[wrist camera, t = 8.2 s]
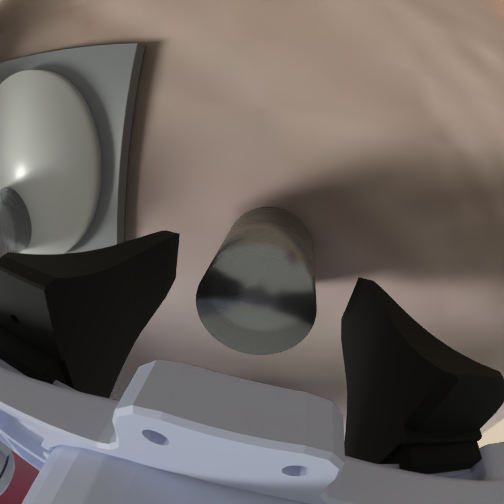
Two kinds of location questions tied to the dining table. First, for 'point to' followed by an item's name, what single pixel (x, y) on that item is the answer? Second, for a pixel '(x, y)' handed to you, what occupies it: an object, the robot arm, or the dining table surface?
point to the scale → (70, 142)
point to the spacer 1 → (13, 222)
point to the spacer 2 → (260, 284)
